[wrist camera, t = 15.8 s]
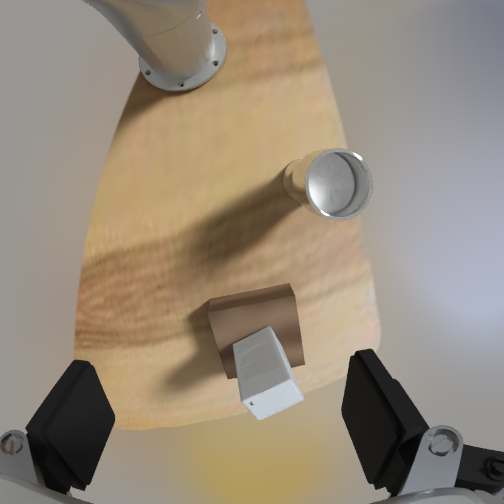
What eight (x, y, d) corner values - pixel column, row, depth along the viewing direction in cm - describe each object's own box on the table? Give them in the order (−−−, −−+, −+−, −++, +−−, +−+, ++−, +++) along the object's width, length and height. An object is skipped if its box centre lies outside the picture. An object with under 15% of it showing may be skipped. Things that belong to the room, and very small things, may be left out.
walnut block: (210, 297, 43) (207, 312, 39) (288, 282, 43) (294, 295, 39) (228, 360, 47) (227, 379, 42) (299, 347, 47) (304, 364, 42)
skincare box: (246, 363, 41) (257, 422, 29) (231, 343, 39) (239, 401, 28) (283, 345, 41) (305, 400, 29) (270, 323, 39) (290, 378, 28)
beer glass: (284, 209, 40) (310, 229, 26) (274, 159, 38) (295, 151, 24) (331, 200, 40) (379, 215, 25) (323, 152, 38) (368, 142, 24)
